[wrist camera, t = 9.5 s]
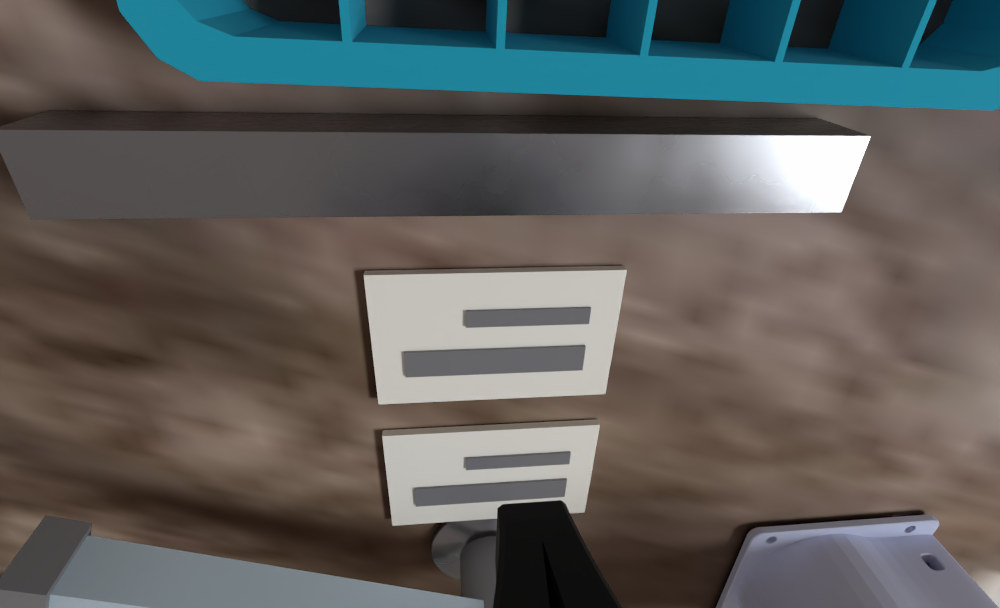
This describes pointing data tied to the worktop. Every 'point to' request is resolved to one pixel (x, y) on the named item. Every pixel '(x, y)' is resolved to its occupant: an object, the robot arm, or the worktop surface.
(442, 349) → the psu label
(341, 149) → the rail
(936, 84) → the ice cube tray
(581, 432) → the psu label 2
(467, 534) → the pivot base
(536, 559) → the robot arm
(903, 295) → the worktop surface
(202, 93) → the worktop surface
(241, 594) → the bar
